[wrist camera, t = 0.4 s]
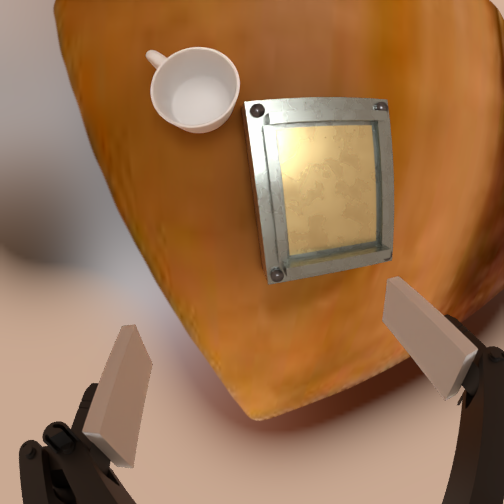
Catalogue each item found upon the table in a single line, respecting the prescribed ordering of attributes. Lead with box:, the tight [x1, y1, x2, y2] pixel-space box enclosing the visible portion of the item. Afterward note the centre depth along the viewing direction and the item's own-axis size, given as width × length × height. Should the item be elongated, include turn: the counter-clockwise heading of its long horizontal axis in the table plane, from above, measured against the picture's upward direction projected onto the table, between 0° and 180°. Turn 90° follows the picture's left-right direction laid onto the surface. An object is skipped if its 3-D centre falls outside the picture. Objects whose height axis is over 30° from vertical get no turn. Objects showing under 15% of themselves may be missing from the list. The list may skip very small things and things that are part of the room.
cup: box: [146, 47, 240, 133], centre depth 26 cm, size 8×12×10 cm
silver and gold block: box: [241, 97, 394, 285], centre depth 33 cm, size 22×18×8 cm
